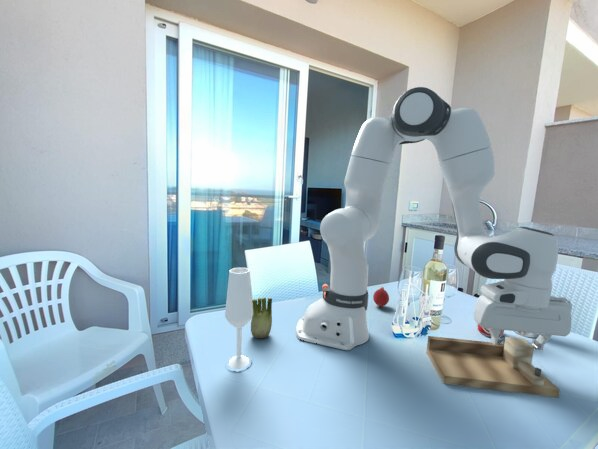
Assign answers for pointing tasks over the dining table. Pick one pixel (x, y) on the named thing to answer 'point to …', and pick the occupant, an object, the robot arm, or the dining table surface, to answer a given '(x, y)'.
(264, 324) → the fennel bulb
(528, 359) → the marking gauge
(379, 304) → the onion
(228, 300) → the champagne flute
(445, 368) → the board
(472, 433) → the dining table surface
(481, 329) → the soda can
